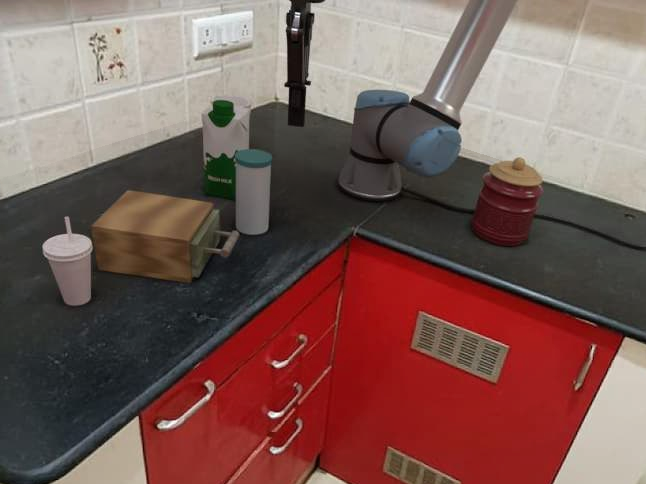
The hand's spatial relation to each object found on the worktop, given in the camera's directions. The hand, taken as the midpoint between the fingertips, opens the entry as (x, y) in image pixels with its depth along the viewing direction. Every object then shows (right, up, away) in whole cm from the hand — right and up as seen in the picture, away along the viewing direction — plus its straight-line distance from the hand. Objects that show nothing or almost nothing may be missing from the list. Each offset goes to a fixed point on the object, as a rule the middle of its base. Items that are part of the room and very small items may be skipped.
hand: (296, 124), depth 96 cm
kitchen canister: (+41, -16, +29) cm, 53 cm away
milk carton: (-19, -7, +27) cm, 34 cm away
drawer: (-20, -22, +2) cm, 30 cm away
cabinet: (-24, -23, +2) cm, 33 cm away
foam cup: (-23, +5, +45) cm, 51 cm away
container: (-11, -16, +15) cm, 25 cm away
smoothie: (-32, -30, -11) cm, 45 cm away
